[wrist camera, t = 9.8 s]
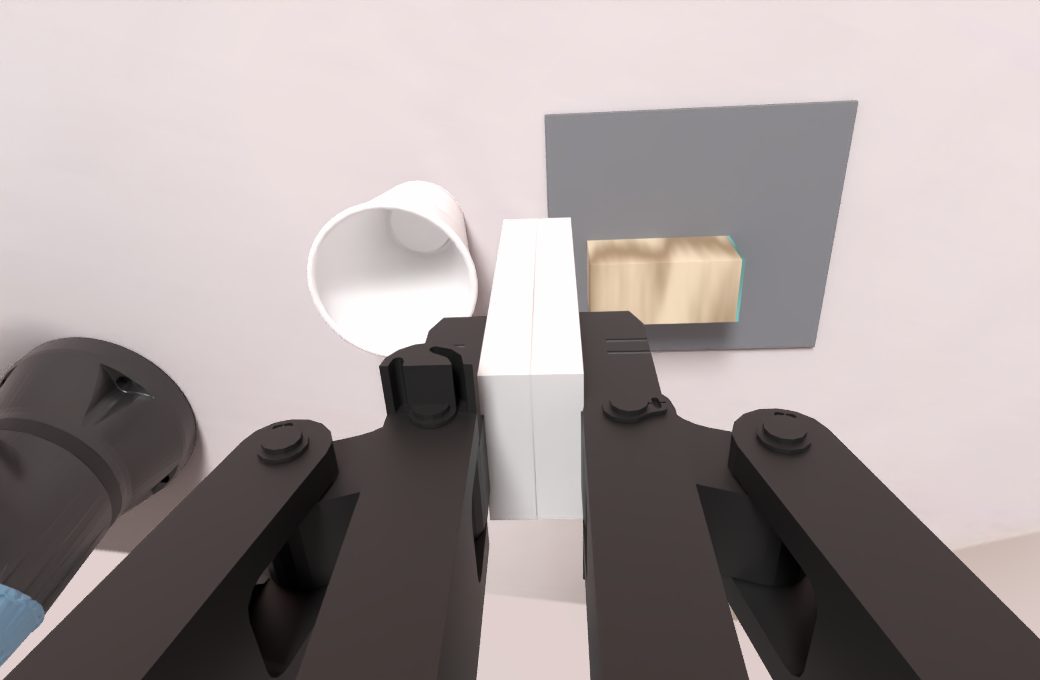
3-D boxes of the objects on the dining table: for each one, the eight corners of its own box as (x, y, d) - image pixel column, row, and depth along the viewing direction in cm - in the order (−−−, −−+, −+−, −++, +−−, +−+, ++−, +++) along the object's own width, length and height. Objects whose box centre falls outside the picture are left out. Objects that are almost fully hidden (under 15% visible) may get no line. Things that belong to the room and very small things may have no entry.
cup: (519, 236, 50) (512, 303, 40) (414, 307, 53) (385, 386, 43) (430, 121, 46) (399, 165, 37) (324, 206, 49) (270, 267, 40)
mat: (552, 351, 54) (552, 353, 54) (544, 114, 46) (544, 116, 45) (812, 344, 53) (814, 346, 53) (855, 100, 44) (858, 101, 44)
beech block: (723, 293, 51) (587, 297, 52) (729, 235, 49) (587, 240, 49) (738, 321, 47) (590, 326, 48) (745, 260, 45) (590, 265, 45)
